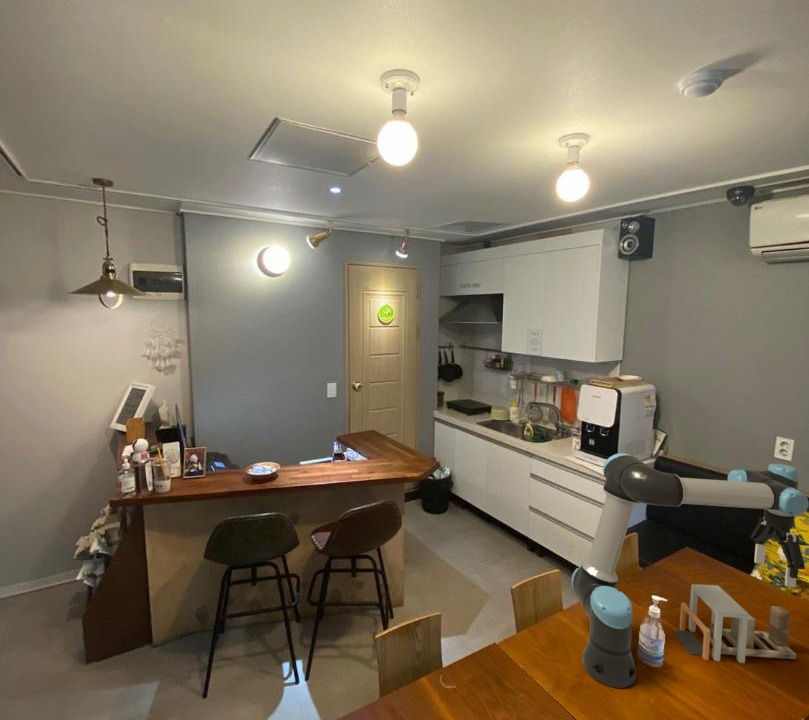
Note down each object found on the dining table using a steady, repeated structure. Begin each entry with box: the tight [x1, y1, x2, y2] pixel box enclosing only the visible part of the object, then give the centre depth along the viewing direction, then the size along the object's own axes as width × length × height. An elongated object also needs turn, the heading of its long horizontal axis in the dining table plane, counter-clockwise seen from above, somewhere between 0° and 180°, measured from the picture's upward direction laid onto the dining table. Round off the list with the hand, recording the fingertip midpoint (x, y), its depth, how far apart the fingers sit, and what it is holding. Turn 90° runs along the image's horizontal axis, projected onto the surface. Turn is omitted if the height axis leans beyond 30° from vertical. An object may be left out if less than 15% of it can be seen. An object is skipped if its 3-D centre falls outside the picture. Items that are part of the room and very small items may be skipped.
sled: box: [700, 605, 797, 660], centre depth 145 cm, size 23×10×13 cm, turn 85°
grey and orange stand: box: [679, 583, 749, 664], centre depth 146 cm, size 12×15×16 cm
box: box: [730, 613, 756, 649], centre depth 145 cm, size 5×4×11 cm
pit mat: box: [671, 630, 710, 657], centre depth 147 cm, size 6×11×1 cm, turn 175°
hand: (773, 574), depth 144 cm, fingers open, 13 cm apart
